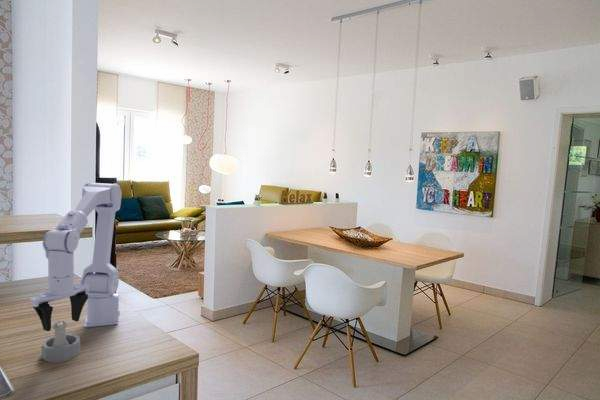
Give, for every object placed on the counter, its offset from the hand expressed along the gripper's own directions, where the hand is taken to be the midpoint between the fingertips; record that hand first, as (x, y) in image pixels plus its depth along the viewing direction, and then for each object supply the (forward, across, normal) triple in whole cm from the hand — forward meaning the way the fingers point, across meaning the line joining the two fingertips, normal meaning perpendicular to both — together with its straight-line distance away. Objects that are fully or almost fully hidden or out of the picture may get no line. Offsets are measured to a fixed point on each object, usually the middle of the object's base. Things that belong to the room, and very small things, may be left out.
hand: (61, 325), depth 110 cm
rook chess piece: (+8, 0, 0) cm, 8 cm away
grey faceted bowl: (+8, 0, 0) cm, 8 cm away
